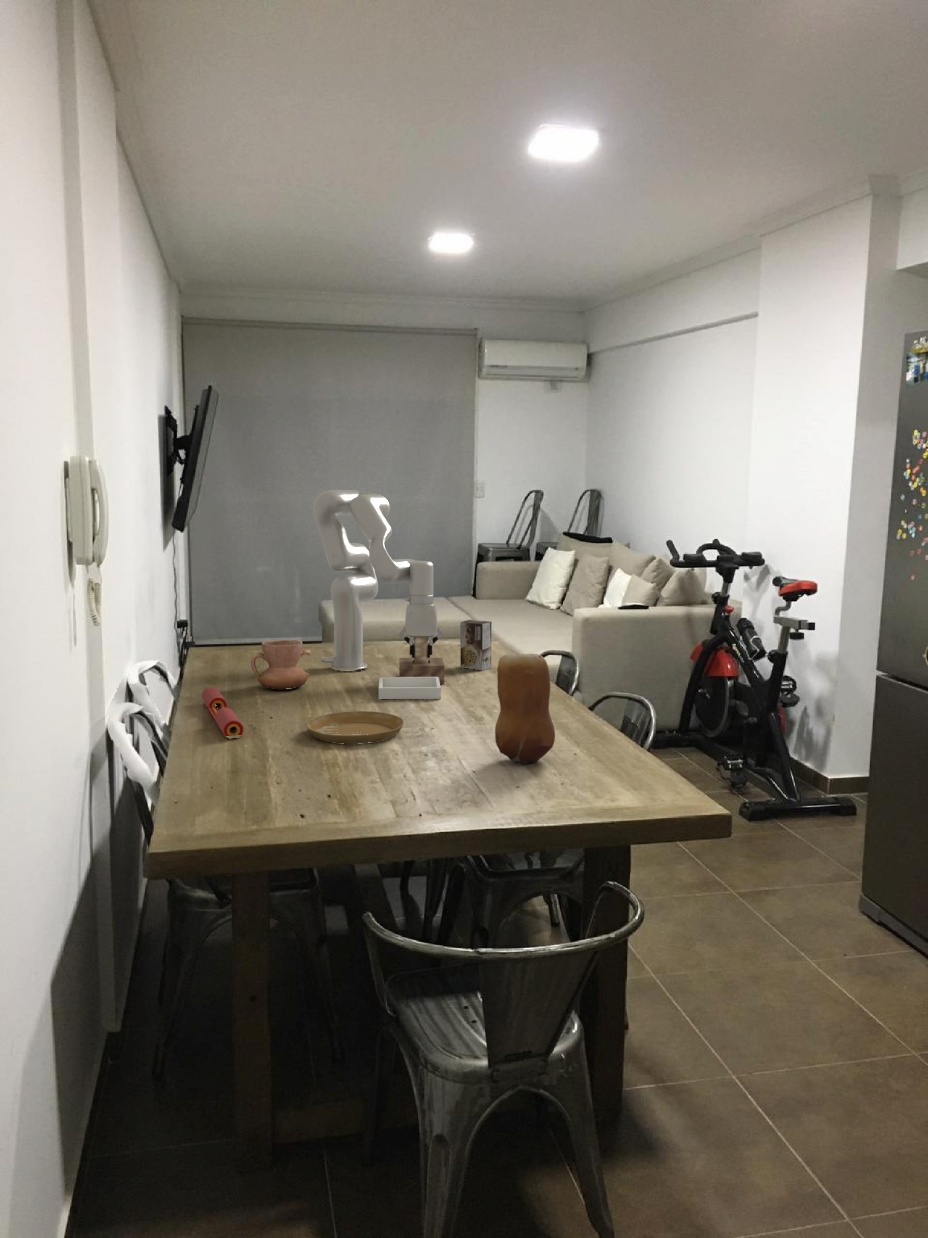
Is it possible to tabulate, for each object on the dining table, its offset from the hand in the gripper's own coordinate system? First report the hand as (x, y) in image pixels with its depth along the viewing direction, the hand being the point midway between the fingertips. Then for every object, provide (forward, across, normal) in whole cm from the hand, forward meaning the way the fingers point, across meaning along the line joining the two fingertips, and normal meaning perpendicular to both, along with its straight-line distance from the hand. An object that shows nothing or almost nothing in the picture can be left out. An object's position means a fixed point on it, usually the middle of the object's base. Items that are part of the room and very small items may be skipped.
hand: (420, 656), depth 307 cm
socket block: (+8, 0, 0) cm, 8 cm away
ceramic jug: (+8, -43, -10) cm, 45 cm away
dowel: (+7, 0, 0) cm, 7 cm away
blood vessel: (+8, -54, -50) cm, 74 cm away
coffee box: (+8, +19, +20) cm, 29 cm away
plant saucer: (+8, -18, -66) cm, 69 cm away
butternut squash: (+7, +21, -92) cm, 95 cm away
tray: (+8, -4, -20) cm, 22 cm away
